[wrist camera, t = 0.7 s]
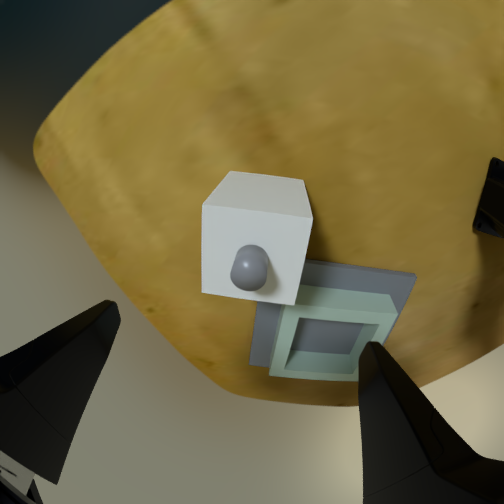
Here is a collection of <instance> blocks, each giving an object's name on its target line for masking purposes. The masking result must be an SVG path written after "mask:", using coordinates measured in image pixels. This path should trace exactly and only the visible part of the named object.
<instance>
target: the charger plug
mask: <svg viewBox="0 0 504 504" xmlns="http://www.w3.org/2000/svg"><path fill="white" fill-rule="evenodd" d="M312 222H313V216H312V212H311V208H310V204H309V200H308V196H307V192H306V188H305V184H304V181H303V180H299V179H293V178H286V177H278V176H271V175H263V174H254V173H245V172H236V171H230V172H229V173H228V174H227V175H226V176H225V178H224V179H223V180H222V181H221V182H220V184H219V185H218V186H217V187H216V188H215V190H214V191H213V192H212V193H211V194H210V196H209V197H208V198H207V199H206V201H205V202H204V203H203V204H202V292H203V293H209V294H215V295H222V296H228V297H235V298H242V299H248V300H256V301H263V302H270V303H278V304H286V305H294V304H295V300H296V296H297V292H298V287H299V283H300V279H301V274H302V270H303V265H304V261H305V256H306V251H307V247H308V242H309V237H310V232H311V227H312Z"/></svg>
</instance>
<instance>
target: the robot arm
mask: <svg viewBox="0 0 504 504" xmlns="http://www.w3.org/2000/svg"><path fill="white" fill-rule="evenodd" d="M495 162H496V165H495ZM478 224H479V225H478ZM473 226H474V228H475V229H476V230H478V231H481V232H484V233H487V234H491V235H494V236H497V237H500V238H504V161H502V160H500V159H498V158H496V157H493V158H492V159H491V162H490V167H489V171H488V175H487V179H486V183H485V187H484V191H483V194H482V198H481V201H480V205H479V208H478V211H477V214H476V217H475V220H474V224H473ZM120 322H121V318H120V314H119V310H118V306H117V304H116V302H114V301H110V300H104V301H103V302H101V303H99V304H97V305H95V306H93V307H91V308H89V309H88V310H86V311H84V312H82V313H80V314H78V315H77V316H75V317H73V318H71V319H69V320H68V321H66V322H64V323H62V324H60V325H59V326H57V327H55V328H53V329H51V330H50V331H48V332H46V333H44V334H43V335H41V336H39V337H37V338H36V339H34V340H32V341H30V342H28V343H27V344H25V345H23V346H21V347H20V348H18V349H16V350H14V351H12V352H10V353H8V354H6V355H4V356H1V357H0V504H43V502H42V500H41V497H40V495H39V492H38V489H37V487H36V484H35V481H34V479H33V477H34V475H35V474H37V475H39V476H41V477H42V478H44V479H46V480H48V481H50V482H52V483H53V484H56V485H57V483H58V481H59V477H60V474H61V472H62V468H63V465H64V462H65V460H66V457H67V454H68V451H69V448H70V445H71V442H72V440H73V437H74V434H75V432H76V429H77V427H78V424H79V422H80V419H81V417H82V414H83V412H84V410H85V407H86V405H87V402H88V400H89V398H90V395H91V393H92V391H93V389H94V386H95V384H96V382H97V380H98V377H99V375H100V373H101V371H102V369H103V367H104V364H105V362H106V360H107V358H108V355H109V353H110V350H111V347H112V344H113V342H114V339H115V336H116V334H117V331H118V328H119V326H120ZM358 400H359V411H360V422H361V423H360V424H361V439H362V458H363V504H504V461H499V460H494V459H489V458H485V457H483V456H481V455H479V454H478V453H476V452H475V451H474V450H473V449H472V448H471V447H470V446H469V445H468V444H467V443H466V442H465V441H464V440H463V439H462V438H461V437H460V436H459V435H458V434H457V433H456V432H455V430H454V429H453V428H452V427H451V426H450V425H449V424H448V423H447V422H446V421H445V419H444V418H443V417H442V416H441V415H440V414H439V412H438V411H437V410H436V408H434V406H433V405H432V404H431V403H430V401H429V400H428V399H427V398H426V396H425V395H424V394H423V393H422V391H421V390H420V389H419V388H418V387H417V385H416V384H415V383H414V382H413V381H412V380H411V378H410V377H409V376H408V375H407V374H406V372H405V371H404V370H403V369H402V368H401V367H400V365H399V364H398V363H397V362H396V361H395V360H394V358H393V357H392V356H391V355H390V354H389V353H388V351H387V350H386V349H385V348H384V347H383V346H382V345H381V343H379V342H377V341H368V342H367V343H366V345H365V347H364V349H363V350H362V352H361V354H360V356H359V360H358Z"/></svg>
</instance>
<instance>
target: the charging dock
mask: <svg viewBox="0 0 504 504" xmlns="http://www.w3.org/2000/svg"><path fill="white" fill-rule="evenodd" d="M416 279H417V277H416V275H415V274H414V273H406V272H399V271H392V270H384V269H377V268H369V267H362V266H355V265H347V264H340V263H333V262H325V261H318V260H310V259H305V261H304V265H303V270H302V274H301V279H300V283H299V287H298V292H297V296H296V300H295V304H294V305H286V304H278V303H270V302H263V301H258V303H257V310H256V317H255V324H254V331H253V338H252V345H251V352H250V359H249V365H254V366H262V367H270V368H269V376H278V377H288V378H299V379H312V380H330V381H358V360H359V356H360V354H361V352H362V350H363V349H364V347H365V345H366V343H367V342H368V341H377V342H379V343H381V345H382V346H383V345H384V343H385V341H386V340H387V338H388V336H389V334H390V332H391V331H392V329H393V327H394V325H395V323H396V321H397V319H398V317H399V315H400V313H401V311H402V309H403V307H404V305H405V303H406V301H407V299H408V297H409V295H410V292H411V290H412V288H413V286H414V284H415V281H416Z"/></svg>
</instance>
